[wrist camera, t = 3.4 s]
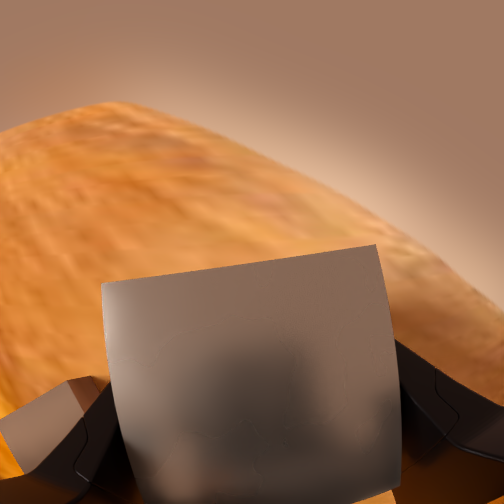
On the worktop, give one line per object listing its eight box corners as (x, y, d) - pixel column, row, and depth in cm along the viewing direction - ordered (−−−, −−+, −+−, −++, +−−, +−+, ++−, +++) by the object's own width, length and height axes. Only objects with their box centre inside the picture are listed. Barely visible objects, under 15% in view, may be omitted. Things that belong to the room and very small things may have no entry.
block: (182, 499, 12) (170, 523, 9) (89, 518, 11) (72, 534, 8) (93, 374, 14) (66, 380, 11) (20, 416, 13) (-5, 422, 10)
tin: (316, 399, 14) (399, 485, 4) (210, 414, 13) (150, 519, 4) (300, 298, 15) (375, 244, 5) (195, 313, 15) (101, 283, 5)
